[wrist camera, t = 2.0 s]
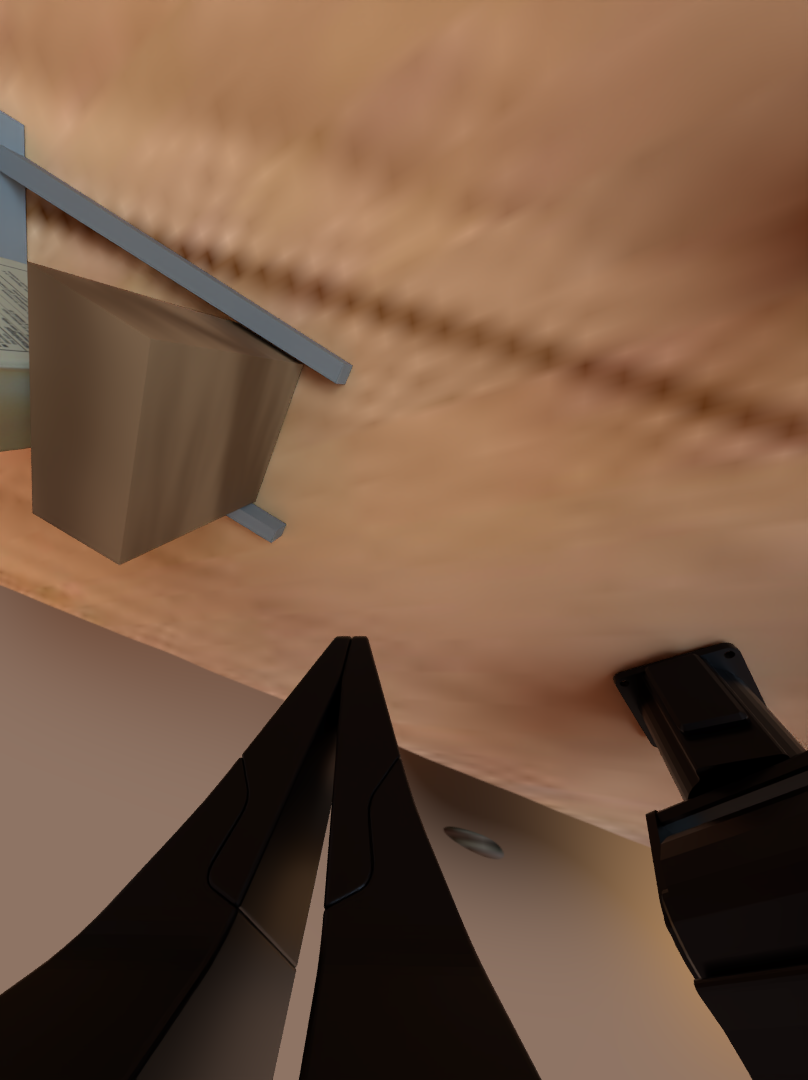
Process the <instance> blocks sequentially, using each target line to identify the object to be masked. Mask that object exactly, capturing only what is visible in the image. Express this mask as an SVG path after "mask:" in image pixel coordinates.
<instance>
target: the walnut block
mask: <svg viewBox="0 0 808 1080" xmlns="http://www.w3.org/2000/svg"><path fill="white" fill-rule="evenodd" d="M27 280H28V326H29V372H30V418H31V464H32V509H33V514H35V515H37V516H38V517H40V518H42V519H43V520H45V521H47V522H48V523H50V524H52V525H53V526H55V527H57V528H58V529H60V530H62V531H63V532H65V533H67V534H68V535H70V536H72V537H73V538H75V539H77V540H78V541H80V542H82V543H83V544H85V545H87V546H88V547H90V548H92V549H93V550H95V551H97V552H98V553H100V554H102V555H103V556H105V557H107V558H108V559H110V560H112V561H113V562H115V563H117V564H118V565H121V564H123V563H125V562H127V561H129V560H131V559H133V558H136V557H138V556H140V555H142V554H144V553H146V552H148V551H151V550H153V549H155V548H157V547H159V546H161V545H163V544H165V543H168V542H170V541H172V540H174V539H176V538H178V537H180V536H182V535H185V534H187V533H189V532H191V531H193V530H195V529H197V528H200V527H202V526H204V525H206V524H208V523H210V522H212V521H214V520H217V519H219V518H221V517H223V516H225V515H227V514H229V513H231V512H234V511H236V510H238V509H240V508H242V507H244V506H246V505H249V504H251V503H253V502H255V500H256V498H257V495H258V492H259V489H260V486H261V483H262V481H263V478H264V475H265V472H266V469H267V466H268V464H269V461H270V458H271V455H272V452H273V449H274V446H275V444H276V441H277V438H278V435H279V432H280V429H281V427H282V424H283V421H284V418H285V415H286V412H287V409H288V407H289V404H290V401H291V398H292V395H293V392H294V390H295V387H296V384H297V381H298V378H299V375H300V373H301V370H302V367H303V364H302V363H300V362H298V361H297V360H295V359H294V358H292V357H291V356H289V355H287V354H286V353H284V352H283V351H281V350H280V349H278V348H276V347H275V346H273V345H272V344H270V343H268V342H267V341H265V340H264V339H262V338H261V337H259V336H257V335H256V334H254V333H253V332H251V331H250V330H248V329H246V328H245V327H243V326H242V325H240V324H238V323H236V322H232V321H229V320H225V319H222V318H219V317H215V316H212V315H208V314H205V313H202V312H198V311H195V310H191V309H188V308H184V307H181V306H178V305H174V304H171V303H167V302H164V301H161V300H157V299H154V298H150V297H147V296H144V295H140V294H137V293H133V292H130V291H127V290H123V289H120V288H116V287H113V286H110V285H106V284H103V283H99V282H96V281H93V280H89V279H86V278H82V277H79V276H75V275H72V274H69V273H65V272H62V271H58V270H55V269H52V268H48V267H45V266H41V265H38V264H35V263H31V262H28V261H27Z"/></svg>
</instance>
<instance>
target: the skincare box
mask: <svg viewBox="0 0 808 1080" xmlns="http://www.w3.org/2000/svg"><path fill="white" fill-rule="evenodd" d="M25 448H31V418H30V372H29V326H28V280H27V264H24V263H20V262H17V261H13V260H10V259H6V258H2V257H0V452H1V451H9V450H18V449H25Z"/></svg>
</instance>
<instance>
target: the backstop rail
mask: <svg viewBox="0 0 808 1080" xmlns="http://www.w3.org/2000/svg"><path fill="white" fill-rule="evenodd" d="M25 187H26V188H28V189H30V190H31V191H33V192H34V193H36V194H37V195H39V196H41V197H42V198H44V199H45V200H47V201H48V202H50V203H52V204H53V205H55V206H56V207H58V208H60V209H61V210H63V211H64V212H66V213H67V214H69V215H71V216H72V217H74V218H75V219H77V220H78V221H80V222H82V223H83V224H85V225H86V226H88V227H90V228H91V229H93V230H94V231H96V232H97V233H99V234H101V235H102V236H104V237H105V238H107V239H108V240H110V241H112V242H113V243H115V244H116V245H118V246H120V247H121V248H123V249H124V250H126V251H127V252H129V253H131V254H132V255H134V256H135V257H137V258H138V259H140V260H142V261H143V262H145V263H146V264H148V265H150V266H151V267H153V268H154V269H156V270H157V271H159V272H161V273H162V274H164V275H165V276H167V277H168V278H170V279H172V280H173V281H175V282H176V283H178V284H179V285H181V286H183V287H184V288H186V289H187V290H189V291H191V292H192V293H194V294H195V295H197V296H198V297H200V298H202V299H203V300H205V301H206V302H208V303H209V304H211V305H213V306H214V307H216V308H217V309H219V310H221V311H222V312H224V313H225V314H227V315H228V316H230V317H232V318H233V319H235V320H236V321H238V322H239V323H241V324H243V325H244V326H246V327H247V328H249V329H251V330H252V331H254V332H255V333H257V334H258V335H260V336H262V337H263V338H265V339H266V340H268V341H269V342H271V343H273V344H274V345H276V346H277V347H279V348H281V349H282V350H284V351H285V352H287V353H288V354H290V355H292V356H293V357H295V358H296V359H298V360H299V361H301V362H303V363H304V364H306V365H307V366H309V367H311V368H312V369H314V370H315V371H317V372H318V373H320V374H322V375H323V376H325V377H326V378H328V379H329V380H331V381H333V382H334V383H336V384H345V383H346V381H347V378H348V376H349V373H350V371H351V369H352V365H351V364H349V363H348V362H346V361H345V360H343V359H341V358H340V357H338V356H337V355H335V354H334V353H332V352H330V351H329V350H327V349H326V348H324V347H323V346H321V345H319V344H318V343H316V342H315V341H313V340H312V339H310V338H308V337H307V336H305V335H304V334H302V333H301V332H299V331H297V330H296V329H294V328H293V327H291V326H290V325H288V324H286V323H285V322H283V321H282V320H280V319H279V318H277V317H275V316H274V315H272V314H271V313H269V312H268V311H266V310H264V309H263V308H261V307H260V306H258V305H257V304H255V303H253V302H252V301H250V300H249V299H247V298H246V297H244V296H242V295H241V294H239V293H238V292H236V291H235V290H233V289H231V288H230V287H228V286H227V285H225V284H224V283H222V282H220V281H219V280H217V279H216V278H214V277H213V276H211V275H209V274H208V273H206V272H205V271H203V270H202V269H200V268H198V267H197V266H195V265H194V264H192V263H191V262H189V261H187V260H186V259H184V258H183V257H181V256H180V255H178V254H176V253H175V252H173V251H172V250H170V249H169V248H167V247H165V246H164V245H162V244H161V243H159V242H158V241H156V240H154V239H153V238H151V237H150V236H148V235H147V234H145V233H143V232H142V231H140V230H139V229H137V228H136V227H134V226H132V225H131V224H129V223H128V222H126V221H125V220H123V219H121V218H120V217H118V216H117V215H115V214H114V213H112V212H110V211H109V210H107V209H106V208H104V207H103V206H101V205H99V204H98V203H96V202H95V201H93V200H92V199H90V198H89V197H87V196H85V195H84V194H82V193H81V192H79V191H78V190H76V189H74V188H73V187H71V186H70V185H68V184H67V183H65V182H63V181H62V180H60V179H59V178H57V177H56V176H54V175H52V174H51V173H49V172H48V171H46V170H45V169H43V168H41V167H40V166H38V165H37V164H35V163H34V162H32V161H30V160H29V159H27V158H26V157H25V154H24V125H23V124H21V123H20V122H18V121H16V120H15V119H13V118H12V117H10V116H9V115H7V114H5V113H4V112H2V111H1V110H0V257H2V258H6V259H10V260H13V261H17V262H20V263H24V264H27V245H26V200H25ZM226 516H228V517H230V518H231V519H233V520H235V521H236V522H238V523H239V524H241V525H243V526H244V527H246V528H248V529H249V530H251V531H253V532H254V533H256V534H257V535H259V536H261V537H262V538H264V539H266V540H267V541H269V542H271V543H272V542H273V541H275V540H276V539H277V538H279V537H280V536H281V535H282V533H283V531H284V528H285V526H286V524H285V523H283V522H282V521H280V520H278V519H277V518H275V517H274V516H272V515H270V514H269V513H267V512H265V511H264V510H262V509H261V508H259V507H257V506H256V505H254V504H252V503H251V504H249V505H246V506H244V507H242V508H240V509H238V510H236V511H234V512H231V513H229V514H227V515H226Z"/></svg>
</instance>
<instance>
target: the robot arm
mask: <svg viewBox="0 0 808 1080" xmlns="http://www.w3.org/2000/svg"><path fill="white" fill-rule="evenodd" d="M728 651H729V652H728ZM726 652H728V653H726ZM613 680H614V683H615V685H616V687H617V688H618V690H619V692H620V693H621V695H622V697H623V698H624V700H625V702H626V703H627V705H628V706H629V708H630V710H631V711H632V713H633V715H634V716H635V718H636V720H637V721H638V723H639V725H640V726H641V728H642V729H643V731H644V733H645V734H646V736H647V738H648V739H649V741H650V743H651V744H652V745H653V746H654V747H657V748H658V750H659V752H660V754H661V756H662V758H663V760H664V762H665V764H666V766H667V768H668V770H669V772H670V774H671V776H672V778H673V780H674V782H675V784H676V786H677V788H678V790H679V792H680V794H681V796H682V798H683V800H684V801H683V802H680V803H678V804H676V805H673V806H671V807H668V808H666V809H663V810H661V811H659V812H658V811H656V810H655V811H652V812H650V813H647V814H646V820H647V826H648V832H649V838H650V845H651V851H652V857H653V863H654V869H655V875H656V881H657V887H658V893H659V899H660V904H661V908H662V912H663V915H664V921H665V924H666V927H667V929H668V931H669V932H670V934H671V936H672V938H673V940H674V942H675V945H676V947H677V948H678V950H679V952H680V954H681V956H682V958H683V960H684V962H685V964H686V965H687V967H688V969H689V970H690V972H691V973H692V975H693V976H694V978H695V980H694V985H695V988H696V990H697V992H698V994H699V995H700V997H701V998H702V1000H703V1001H704V1003H705V1004H706V1006H707V1007H708V1009H709V1010H710V1011H711V1013H712V1014H713V1016H714V1017H715V1019H716V1020H717V1022H718V1023H719V1024H720V1026H721V1027H722V1029H723V1030H724V1032H725V1033H726V1035H727V1037H728V1038H729V1040H730V1042H731V1044H732V1045H733V1047H734V1049H735V1050H736V1052H737V1054H738V1055H739V1057H740V1059H741V1060H742V1062H743V1064H744V1066H745V1067H746V1069H747V1071H748V1072H749V1074H750V1076H751V1078H752V1080H808V750H807V751H806V750H805V749H804V748H803V747H802V745H801V744H800V743H799V742H798V741H797V740H796V739H795V738H794V737H793V736H792V734H791V733H790V732H789V731H788V730H787V729H786V728H785V727H784V726H783V725H782V723H781V722H780V721H779V720H778V719H777V718H776V717H775V716H774V715H773V714H772V712H771V711H770V710H769V709H768V708H767V707H766V705H765V702H764V700H763V698H762V696H761V694H760V692H759V690H758V688H757V686H756V684H755V682H754V679H753V677H752V675H751V673H750V671H749V669H748V667H747V665H746V663H745V661H744V658H743V656H742V654H741V652H740V651H739V650H738V649H737V648H736V647H735V646H734V645H733V644H731V643H721V644H718V645H714V646H711V647H707V648H704V649H700V650H697V651H693V652H690V653H686V654H683V655H679V656H676V657H672V658H669V659H665V660H662V661H658V662H655V663H652V664H648V665H645V666H641V667H638V668H634V669H631V670H627V671H624V672H620V673H617V674H616V675H615V676H614V677H613ZM624 680H626V681H624ZM621 681H624V682H621ZM331 805H332V808H331ZM330 809H331V821H330V835H329V847H328V860H327V873H326V886H325V900H324V908H325V911H324V914H323V926H322V936H321V945H320V954H319V962H318V970H317V976H316V982H315V988H314V994H313V1000H312V1006H311V1012H310V1017H309V1023H308V1029H307V1035H306V1041H305V1047H304V1053H303V1059H302V1064H301V1071H300V1077H299V1080H541V1078H540V1076H539V1074H538V1072H537V1070H536V1068H535V1066H534V1064H533V1063H532V1061H531V1059H530V1057H529V1055H528V1053H527V1051H526V1049H525V1047H524V1045H523V1043H522V1042H521V1039H520V1038H519V1036H518V1034H517V1032H516V1030H515V1028H514V1026H513V1024H512V1022H511V1020H510V1018H509V1016H508V1015H507V1013H506V1011H505V1009H504V1007H503V1005H502V1003H501V1001H500V999H499V997H498V995H497V993H496V992H495V990H494V988H493V986H492V984H491V982H490V980H489V978H488V976H487V974H486V972H485V970H484V968H483V966H482V964H481V962H480V960H479V958H478V956H477V954H476V951H475V949H474V947H473V945H472V943H471V940H470V938H469V936H468V934H467V931H466V929H465V927H464V924H463V922H462V920H461V917H460V915H459V913H458V910H457V908H456V905H455V903H454V900H453V898H452V895H451V893H450V891H449V888H448V886H447V883H446V881H445V878H444V876H443V873H442V871H441V869H440V866H439V864H438V861H437V859H436V856H435V854H434V851H433V849H432V847H431V844H430V842H429V839H428V837H427V835H426V832H425V830H424V826H423V824H422V821H421V819H420V816H419V813H418V811H417V808H416V806H415V802H414V799H413V796H412V793H411V790H410V786H409V783H408V780H407V777H406V773H405V769H404V766H403V763H402V760H401V756H400V752H399V748H398V745H397V741H396V737H395V734H394V730H393V727H392V723H391V719H390V716H389V712H388V709H387V705H386V701H385V698H384V694H383V691H382V687H381V683H380V680H379V676H378V673H377V669H376V665H375V662H374V658H373V655H372V651H371V647H370V644H369V640H368V638H367V637H366V636H354V637H353V638H351V637H350V636H337V637H336V638H335V639H334V640H333V641H332V642H331V644H330V645H329V646H328V647H327V649H326V650H325V651H324V652H323V654H322V655H321V656H320V657H319V659H318V660H317V661H316V662H315V664H314V665H313V666H312V667H311V669H310V670H309V671H308V672H307V674H306V675H305V676H304V677H303V679H302V680H301V681H300V683H299V684H298V685H297V686H296V688H295V689H294V690H293V691H292V693H291V694H290V695H289V696H288V698H287V699H286V700H285V701H284V703H283V704H282V705H281V706H280V708H279V709H278V710H277V711H276V713H275V714H274V715H273V716H272V718H271V719H270V720H269V721H268V723H267V724H266V725H265V727H264V728H263V729H262V731H261V732H260V733H259V734H258V735H257V737H256V738H255V739H254V741H253V742H252V743H251V744H250V745H249V747H248V748H247V749H246V750H245V752H244V753H243V754H242V758H239V759H238V760H237V761H236V763H235V764H234V765H233V767H232V768H231V769H230V770H229V772H228V773H227V774H226V775H225V777H224V778H223V779H222V780H221V781H220V782H219V784H218V785H217V786H216V787H215V789H214V790H213V791H212V792H211V793H210V795H209V796H208V797H207V798H206V799H205V801H204V802H203V803H202V804H201V805H200V806H199V807H198V808H197V809H196V811H195V812H194V813H193V814H192V815H191V816H190V817H189V818H188V819H187V821H186V822H185V823H184V824H183V825H182V826H181V827H180V828H179V829H178V831H177V832H176V833H175V834H174V835H173V836H172V837H171V838H170V839H169V840H168V841H167V842H166V843H165V845H164V846H163V847H162V848H161V849H160V850H159V851H158V852H157V853H156V854H155V855H154V856H153V857H152V858H151V860H150V861H149V862H148V863H147V864H146V865H145V866H144V867H143V868H142V869H141V871H140V872H138V874H137V875H136V876H135V877H134V878H133V879H132V880H131V881H130V882H129V883H128V884H127V885H126V886H125V888H124V889H123V890H122V891H121V892H120V893H119V894H118V895H117V896H116V897H115V898H114V899H113V900H112V902H111V903H110V904H109V905H108V906H107V907H106V908H105V909H104V910H103V911H102V912H101V913H100V914H99V915H98V916H97V917H96V918H95V919H94V920H93V921H92V922H91V923H90V924H89V925H88V926H87V927H86V928H85V929H84V930H83V931H82V932H81V933H80V934H78V936H76V937H75V938H74V939H73V940H72V941H70V942H69V943H68V944H67V945H66V946H65V947H64V948H62V949H61V950H60V951H59V952H57V953H56V954H55V955H54V956H53V957H51V958H50V959H49V960H48V961H46V962H45V963H44V964H42V965H41V966H40V967H38V968H37V969H35V970H34V971H33V972H31V973H30V974H29V975H27V976H26V977H24V978H23V979H22V980H20V981H19V982H17V983H16V984H15V985H13V986H12V987H11V988H9V989H8V990H6V991H5V992H4V993H3V994H1V995H0V1080H273V1076H274V1071H275V1066H276V1062H277V1057H278V1053H279V1048H280V1043H281V1039H282V1034H283V1029H284V1024H285V1020H286V1015H287V1010H288V1006H289V1001H290V996H291V992H292V987H293V982H294V978H295V973H296V969H295V967H296V966H297V963H298V959H299V954H300V949H301V945H302V939H303V935H304V930H305V926H306V921H307V917H308V912H309V907H310V903H311V898H312V893H313V889H314V884H315V879H316V875H317V870H318V865H319V860H320V856H321V851H322V846H323V842H324V837H325V833H326V828H327V823H328V819H329V814H330Z"/></svg>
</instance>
